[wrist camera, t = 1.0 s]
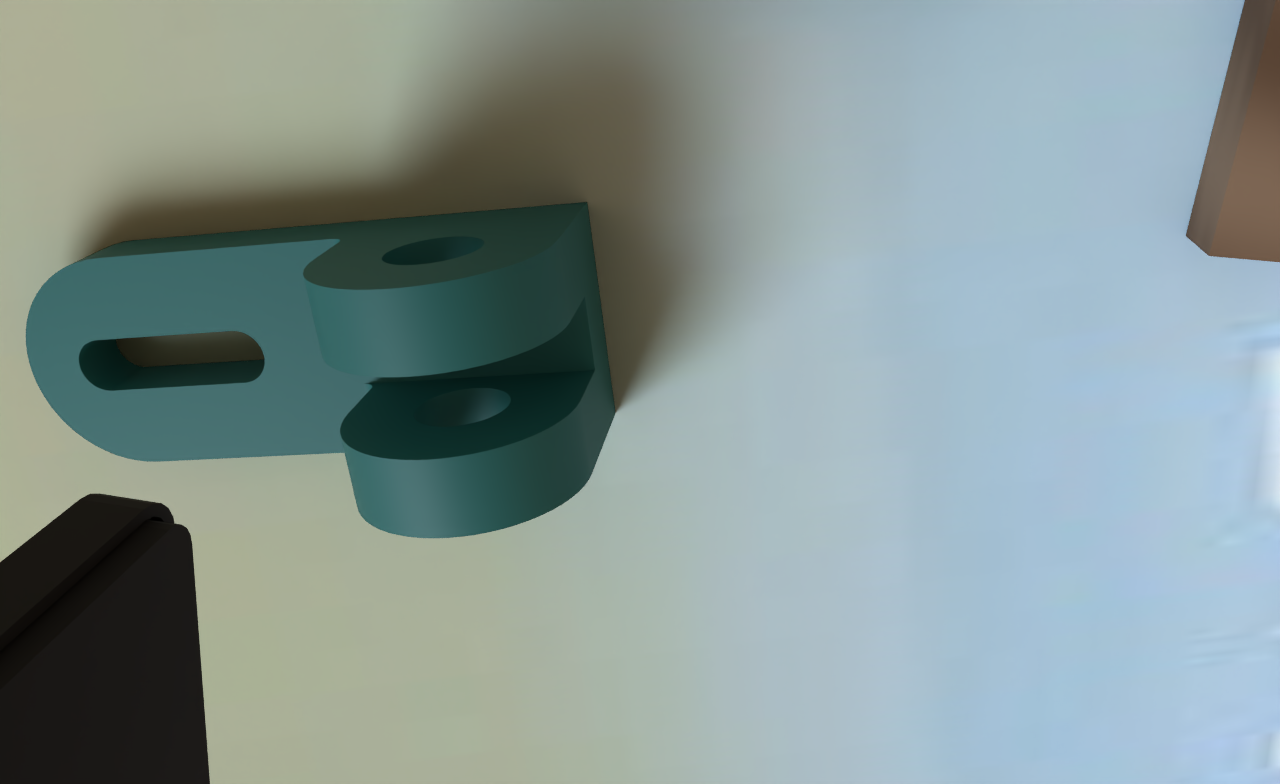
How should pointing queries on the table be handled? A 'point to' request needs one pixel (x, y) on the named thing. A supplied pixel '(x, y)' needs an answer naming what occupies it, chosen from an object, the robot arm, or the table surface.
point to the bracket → (353, 357)
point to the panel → (1244, 148)
